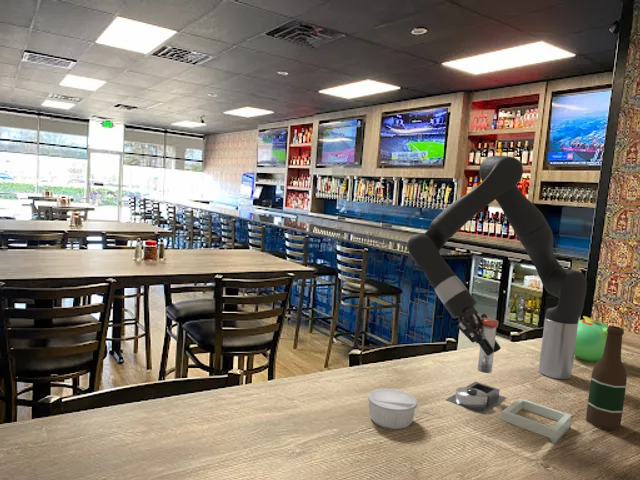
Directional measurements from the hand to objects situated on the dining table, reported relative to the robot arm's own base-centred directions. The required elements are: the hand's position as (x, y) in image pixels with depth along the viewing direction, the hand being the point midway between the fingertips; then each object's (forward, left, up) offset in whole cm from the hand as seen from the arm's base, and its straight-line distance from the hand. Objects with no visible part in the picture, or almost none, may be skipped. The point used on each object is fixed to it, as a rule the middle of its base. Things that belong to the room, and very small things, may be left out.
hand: (494, 351), depth 124 cm
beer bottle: (-11, +24, -14) cm, 30 cm away
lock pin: (0, -2, -6) cm, 6 cm away
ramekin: (+29, -11, -14) cm, 34 cm away
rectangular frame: (+4, +13, -13) cm, 19 cm away
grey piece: (+3, -2, -13) cm, 14 cm away
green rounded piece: (-67, +9, -14) cm, 68 cm away
